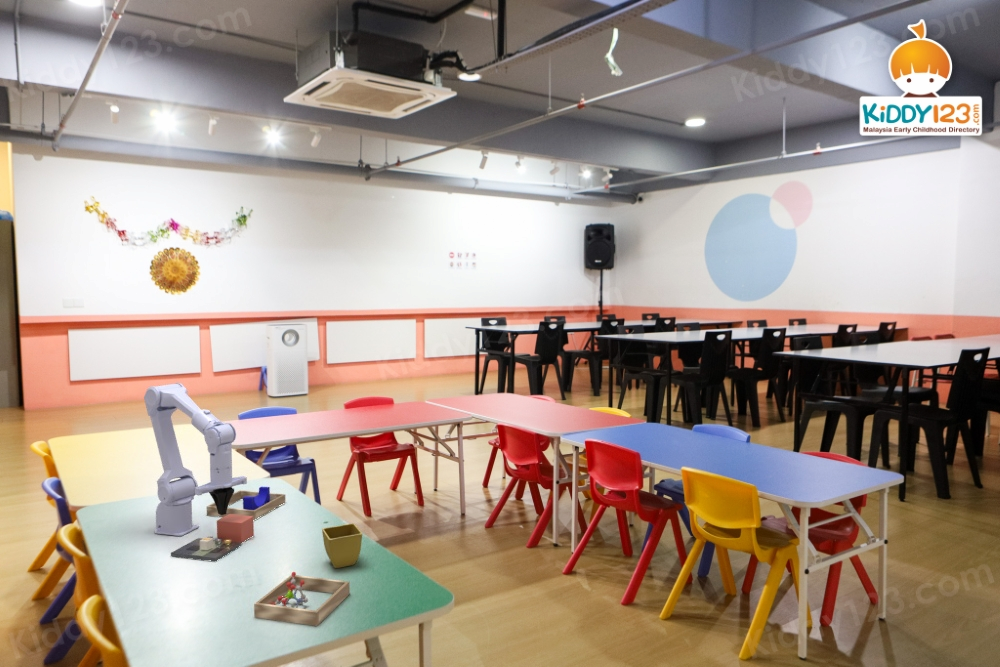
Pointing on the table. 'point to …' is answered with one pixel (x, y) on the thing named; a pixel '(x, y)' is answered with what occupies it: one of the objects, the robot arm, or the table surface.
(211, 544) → the block
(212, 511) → the wooden frame left
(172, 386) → the robot arm
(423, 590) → the table surface
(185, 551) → the panel
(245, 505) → the blue curved cradle block
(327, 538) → the flower pot
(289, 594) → the molecular model
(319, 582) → the wooden frame right
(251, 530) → the cap
